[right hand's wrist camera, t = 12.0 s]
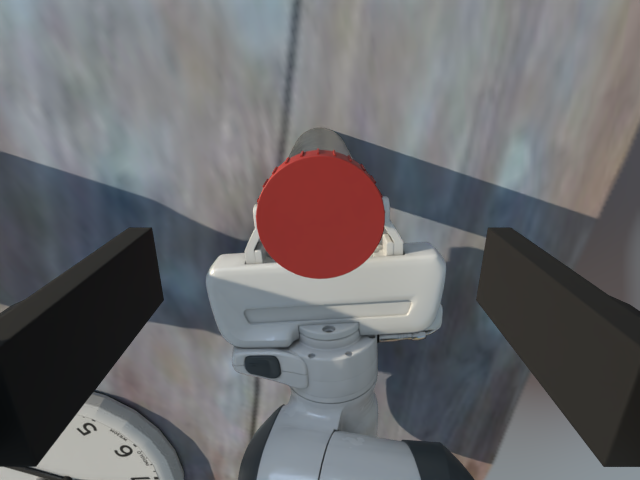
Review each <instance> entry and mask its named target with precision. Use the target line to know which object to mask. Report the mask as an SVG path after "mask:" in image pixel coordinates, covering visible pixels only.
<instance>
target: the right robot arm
mask: <svg viewBox="0 0 640 480" xmlns="http://www.w3.org/2000/svg"><path fill="white" fill-rule="evenodd" d="M163 300H164V298H163V292H162V286H161V280H160V274H159V268H158V262H157V256H156V249H155V243H154V237H153V231H152V228H128V229H126V230H125V231H124V232H122V233H121V234H119V235H118V236H116V237H115V238H113V239H112V240H111V241H109V242H108V243H106V244H105V245H103V246H102V247H100V248H99V249H98V250H96V251H95V252H93V253H92V254H90V255H89V256H87V257H86V258H85V259H83V260H82V261H80V262H79V263H77V264H76V265H74V266H73V267H72V268H70V269H69V270H67V271H66V272H64V273H63V274H61V275H60V276H59V277H57V278H56V279H54V280H53V281H51V282H50V283H48V284H47V285H46V286H44V287H43V288H41V289H40V290H38V291H37V292H35V293H34V294H33V295H31V296H30V297H28V298H27V299H25V300H23V301H21V302H19V303H17V304H14V305H12V306H10V307H9V308H7V309H6V310H4V311H3V312H1V313H0V467H36V466H37V465H38V464H39V463H40V461H41V460H42V459H43V457H44V456H45V455H46V453H47V452H48V451H49V449H50V448H51V447H52V446H53V444H54V443H55V442H56V440H57V439H58V438H59V436H60V435H61V434H62V432H63V431H64V430H65V429H66V427H67V426H68V425H69V423H70V422H71V421H72V419H73V418H74V417H75V415H76V414H77V413H78V412H79V410H80V409H81V408H82V406H83V405H84V404H85V402H86V401H87V400H88V398H89V397H90V396H91V395H92V393H93V392H94V391H95V389H96V388H97V387H98V385H99V384H100V383H101V381H102V380H103V379H104V378H105V376H106V375H107V374H108V372H109V371H110V370H111V368H112V367H113V366H114V364H115V363H116V362H117V361H118V359H119V358H120V357H121V355H122V354H123V353H124V351H125V350H126V349H127V347H128V346H129V345H130V344H131V342H132V341H133V340H134V338H135V337H136V336H137V334H138V333H139V332H140V330H141V329H142V328H143V327H144V325H145V324H146V323H147V321H148V320H149V319H150V317H151V316H152V315H153V313H154V312H155V311H156V310H157V308H158V307H159V306H160V304H161V303H162V302H163ZM476 300H477V302H478V303H479V304H480V306H481V307H482V308H483V310H484V311H485V312H486V313H487V315H488V316H489V317H490V319H491V320H492V321H493V323H494V324H495V325H496V327H497V328H498V329H499V330H500V332H501V333H502V334H503V336H504V337H505V338H506V340H507V341H508V342H509V344H510V345H511V346H512V347H513V349H514V350H515V351H516V353H517V354H518V355H519V357H520V358H521V359H522V361H523V362H524V363H525V364H526V366H527V367H528V368H529V370H530V371H531V372H532V374H533V375H534V376H535V377H536V379H537V380H538V381H539V383H540V384H541V385H542V387H543V388H544V389H545V391H546V392H547V393H548V395H549V396H550V397H551V398H552V400H553V401H554V402H555V404H556V405H557V406H558V408H559V409H560V410H561V412H562V413H563V414H564V415H565V417H566V418H567V419H568V421H569V422H570V423H571V425H572V426H573V427H574V429H575V430H576V431H577V432H578V434H579V435H580V436H581V438H582V439H583V440H584V442H585V443H586V444H587V446H588V447H589V448H590V449H591V451H592V452H593V453H594V455H595V456H596V457H597V459H598V460H599V461H600V463H601V464H602V465H603V466H604V467H640V311H638V310H637V309H635V308H634V307H633V306H631V305H629V304H627V303H625V302H623V301H620V300H618V299H616V298H614V297H611V296H609V295H607V294H606V293H605V292H603V291H602V290H600V289H599V288H597V287H596V286H594V285H593V284H592V283H590V282H589V281H587V280H586V279H584V278H583V277H581V276H580V275H579V274H577V273H576V272H574V271H573V270H571V269H570V268H568V267H567V266H566V265H564V264H563V263H561V262H560V261H558V260H557V259H555V258H554V257H553V256H551V255H550V254H548V253H547V252H545V251H544V250H542V249H541V248H540V247H538V246H537V245H535V244H534V243H532V242H531V241H529V240H528V239H527V238H525V237H524V236H522V235H521V234H519V233H518V232H516V231H515V230H514V229H512V228H488V231H487V237H486V243H485V249H484V255H483V262H482V268H481V274H480V280H479V286H478V292H477V298H476Z"/></svg>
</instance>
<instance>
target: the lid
mask: <svg viewBox="0 0 640 480" xmlns="http://www.w3.org/2000/svg"><path fill="white" fill-rule="evenodd" d="M375 183H376V181H375V180H374V178H373V177H372V175H371V176H370V175H369V174H368V173H367V171H366V169H365V168H364V166H363V165H362V164H359V163H357V162H356V161H355V160H353V159H352V158H351V157H350V155H348V156H346V155H344V154H341V153H338V152H336V151H335V150H333V151H329V150H319V148H317V150H312V151H307V152H304V151H301V153H300V154H297V155H295V156H293V157H291V158H289V157H288V158H287V159H286V161H285V162H284V163H282V164H281V165H280V166H279V167H276V168H275V169H274V171H273V172H272V175H271V177H270V179H267V180H266V182H265V183H264V185H263V187H264V188H263V190H262V193H261V195H260V197H259V198H258V200H257V202H258V204H257V210H256V224H257V230H258V234H259V237H260V240H261V242H262V244H263V246H264V248H265V250H266V251H267V252H268V254H269V255H270V256H271V257H272V258H273V259H274V260H275V261H276V262H277V263H278V264H279V265H280V266H282V267H283V268H285V269H286V270H288V271H290V272H292V273H294V274H296V275H300V276H303V277H307V278H313V279H328V278H334V277H338V276H342V275H344V274H347V273H349V272H351V271H353V270H355V269H356V268H358V267H359V266H361V265H362V264H363V263H364V262H365V261H366V260H367V259H368V258H369V257H370V256H371V255H372V254H373V252H374V251H375V249H376V248H377V246H378V244H379V242H380V240H381V238H382V234H383V231H384V225H385V210H384V204H383V200H382V198H383V196H382V194H381V193H380V191H379V189H378V188H377V187H376V185H375Z"/></svg>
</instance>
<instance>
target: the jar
mask: <svg viewBox="0 0 640 480" xmlns="http://www.w3.org/2000/svg"><path fill="white" fill-rule="evenodd" d="M317 148H319V150H329V151H333V150H335V151H336V152H338V153H341V154H344V155H346V156H348V155H350V157H351V158H352V159H353V157H352V156H351V154H350V152H349V150H348V148H347V146H346V144H345V142H344V141H343V139H342V138H341V137H340V136H339V135H338V134H337V133H335V132H334V131H332V130H329V129H326V128H315V129H311V130H309V131H307V132H305V133H304V134H302V135H301V136H300V137H299V139H298V140H297V142H296V143H295V145H294V147H293V149H292V151H291V153H290V155H289V158H291V157H293V156H295V155H297V154H300V153H301V151H304V152H307V151H312V150H317ZM353 160H354V159H353Z"/></svg>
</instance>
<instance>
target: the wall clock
mask: <svg viewBox="0 0 640 480" xmlns="http://www.w3.org/2000/svg"><path fill="white" fill-rule="evenodd" d="M0 480H184V471H183V469H182V466H181V463H180V461H179V458H178V456H177V453H176V451H175V449H174V448H173V447H172V445H171V444H170V443H169V441H168V440H167V439H166V438H165V436H164V435H163V434H162V432H161V431H160V430H159V429H158V428H157V427H156V426H154V425H153V424H152V423H151V422H149V421H148V420H147V419H146V418H144V417H143V416H142V415H141V414H139V413H138V412H137V411H136V410H134V409H132V408H130V407H128V406H126V405H124V404H122V403H120V402H118V401H116V400H114V399H112V398H110V397H108V396H106V395H103V394H99V393H96V392H93V393H92V395H91V396H90V397H89V398H88V400H87V401H86V402H85V404H84V405H83V406H82V408H81V409H80V410H79V412H78V413H77V414H76V415H75V417H74V418H73V419H72V421H71V422H70V423H69V425H68V426H67V427H66V429H65V430H64V431H63V432H62V434H61V435H60V436H59V438H58V439H57V440H56V442H55V443H54V444H53V446H52V447H51V448H50V449H49V451H48V452H47V453H46V455H45V456H44V457H43V459H42V460H41V461H40V463H39V464H38V465H37V466H36V467H0Z"/></svg>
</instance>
